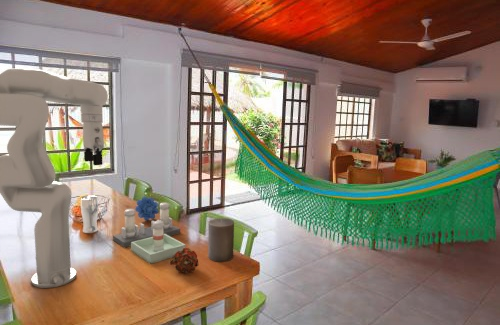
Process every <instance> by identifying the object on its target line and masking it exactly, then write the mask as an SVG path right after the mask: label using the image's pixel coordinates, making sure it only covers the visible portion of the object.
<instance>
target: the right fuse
mask: <svg viewBox="0 0 500 325" xmlns="http://www.w3.org/2000/svg"><path fill="white" fill-rule="evenodd" d="M169 217H170V203H169V202H160V203H159V220H160V221H163V222H164V228H163V230H165V229H169Z"/></svg>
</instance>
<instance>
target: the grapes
mask: <svg viewBox="0 0 500 325" xmlns="http://www.w3.org/2000/svg"><path fill="white" fill-rule="evenodd" d="M136 204H137V206H135V213H137V216H138V218H140V219H143V220H144V221H149V220H150V219H151V220H155V218H156V215H157V214H159V213H160V210H159V209H158V207H159V203H158V202H157V201H155V199H154V198H153V197H147V196H143V197H142V198H141V199H138V200H137V201H136Z"/></svg>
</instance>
